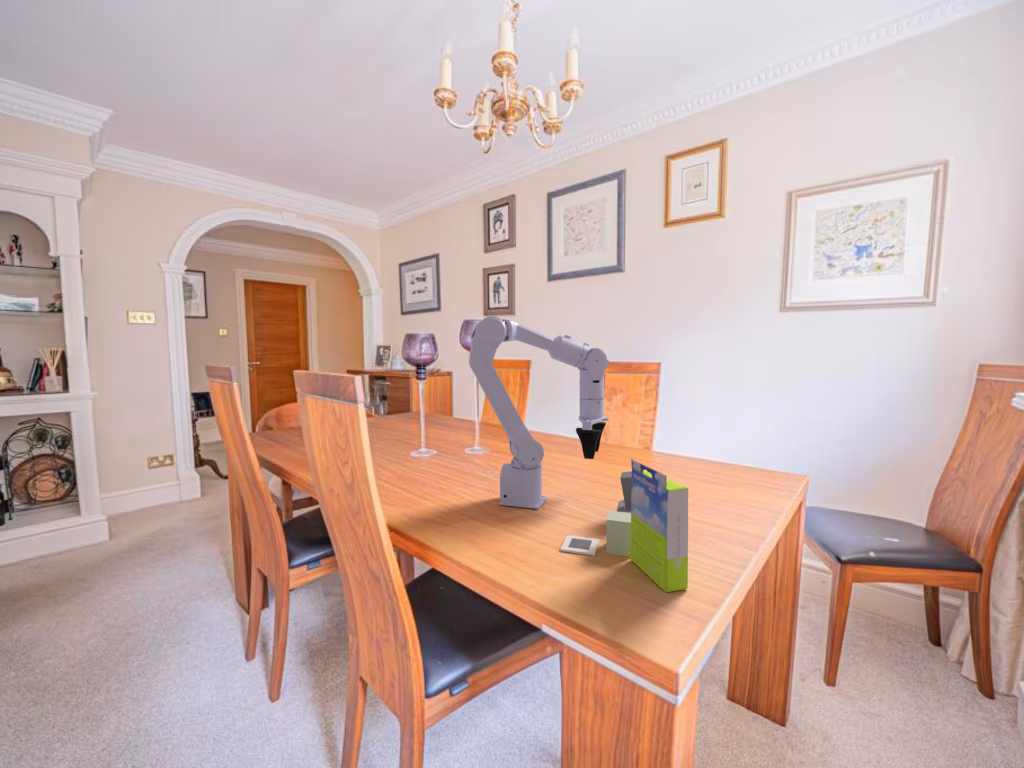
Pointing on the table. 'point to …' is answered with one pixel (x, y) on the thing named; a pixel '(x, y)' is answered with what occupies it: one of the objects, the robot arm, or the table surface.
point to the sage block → (618, 533)
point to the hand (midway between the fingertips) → (591, 454)
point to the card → (580, 545)
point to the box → (659, 527)
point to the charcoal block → (626, 487)
